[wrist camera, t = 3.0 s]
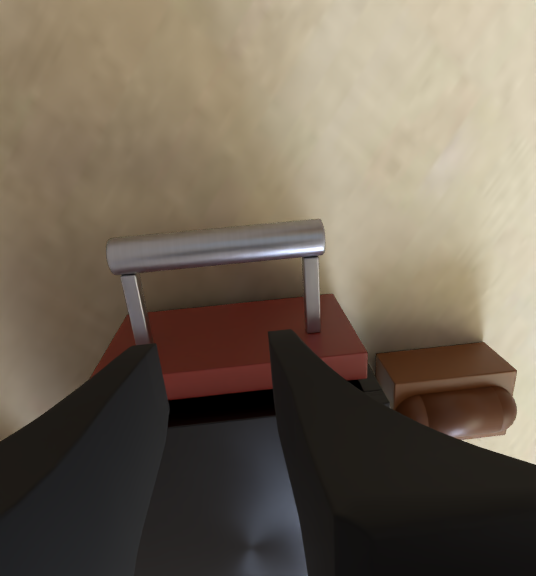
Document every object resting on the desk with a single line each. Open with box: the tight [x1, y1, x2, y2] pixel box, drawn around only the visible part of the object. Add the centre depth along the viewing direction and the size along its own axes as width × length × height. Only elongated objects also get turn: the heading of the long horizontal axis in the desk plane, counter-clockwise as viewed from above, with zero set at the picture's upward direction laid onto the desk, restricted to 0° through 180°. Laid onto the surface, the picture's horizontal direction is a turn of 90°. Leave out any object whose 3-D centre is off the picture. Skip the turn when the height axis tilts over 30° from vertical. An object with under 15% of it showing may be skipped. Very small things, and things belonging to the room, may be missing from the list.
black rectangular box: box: [134, 363, 390, 576], centre depth 21 cm, size 14×12×8 cm
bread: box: [375, 342, 517, 440], centre depth 22 cm, size 6×4×4 cm, turn 94°
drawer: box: [90, 219, 368, 414], centre depth 19 cm, size 17×10×6 cm, turn 4°
